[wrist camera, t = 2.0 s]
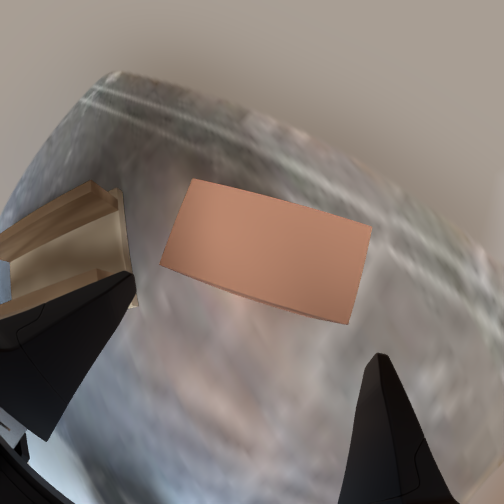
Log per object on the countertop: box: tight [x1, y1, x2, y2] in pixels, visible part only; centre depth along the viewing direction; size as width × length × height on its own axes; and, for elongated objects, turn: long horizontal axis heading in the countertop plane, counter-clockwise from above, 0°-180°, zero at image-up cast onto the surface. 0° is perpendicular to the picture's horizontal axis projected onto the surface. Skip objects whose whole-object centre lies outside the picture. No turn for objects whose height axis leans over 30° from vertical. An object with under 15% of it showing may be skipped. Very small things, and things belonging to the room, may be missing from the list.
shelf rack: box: [0, 180, 139, 319], centre depth 19 cm, size 10×16×5 cm, turn 106°
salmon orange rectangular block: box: [159, 178, 372, 325], centre depth 13 cm, size 3×6×12 cm, turn 72°
